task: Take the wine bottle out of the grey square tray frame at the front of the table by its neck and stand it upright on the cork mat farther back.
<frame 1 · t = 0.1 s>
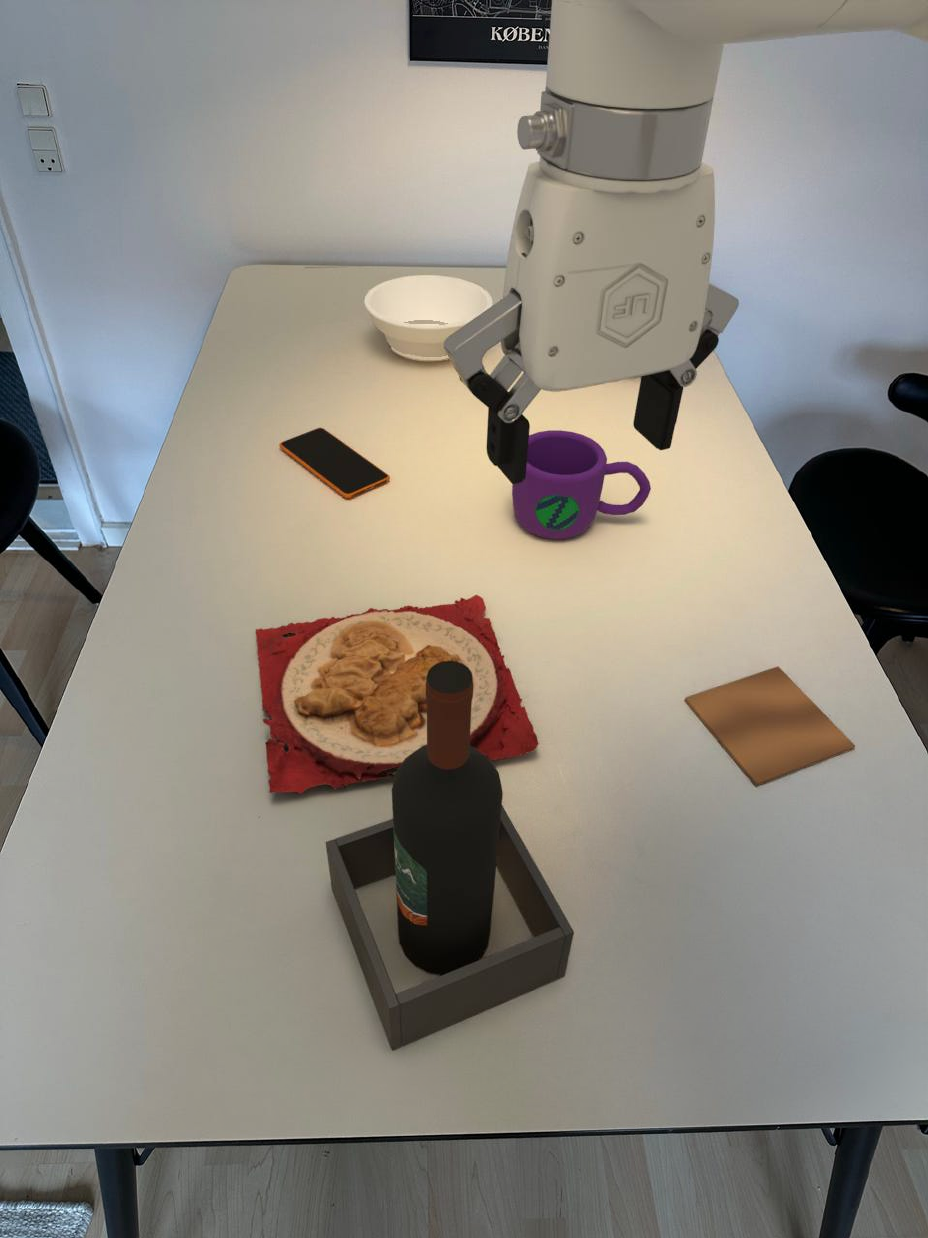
hand: (581, 454, 53), 40 cm above the table, tool pointing down, fingers open, 9 cm apart
wine bottle: (444, 932, 74), resting in grey square tray frame
grey square tray frame: (444, 931, 74), on the table
cork mat: (767, 724, 92), on the table
plate with food: (387, 692, 94), on the table
smartphone: (334, 465, 125), on the table
vase: (618, 365, 150), on the table
mug: (576, 521, 117), on the table
bowl: (428, 347, 153), on the table
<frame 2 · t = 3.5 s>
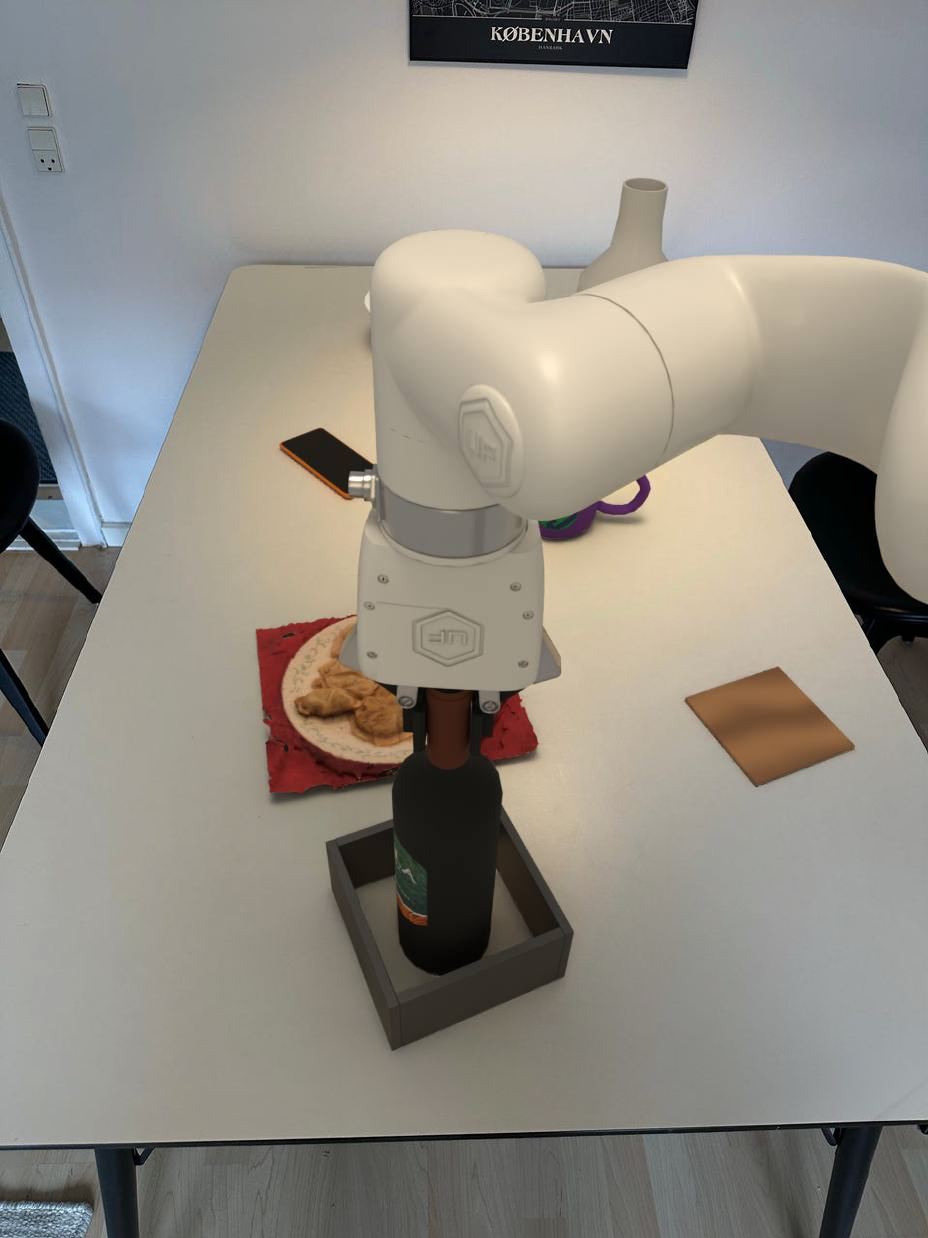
hand: (448, 735, 57), 25 cm above the table, tool pointing down, fingers closed on wine bottle, 2 cm apart
wine bottle: (444, 932, 74), resting in grey square tray frame, touching gripper
everything else where it was.
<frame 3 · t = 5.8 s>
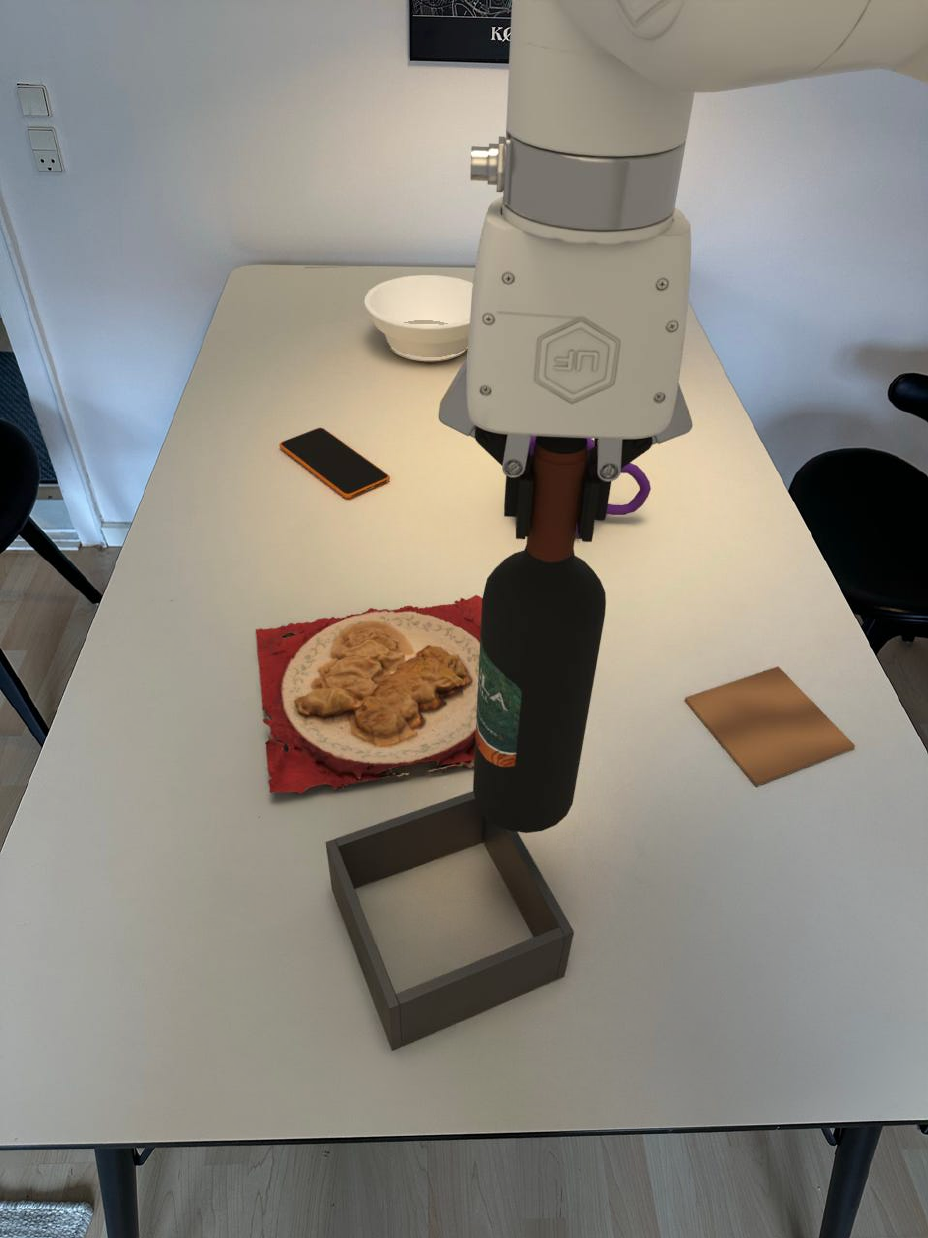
hand: (552, 523, 51), 38 cm above the table, tool pointing down, fingers closed on wine bottle, 2 cm apart
wine bottle: (523, 792, 68), point 14 cm above the table, touching gripper
everything else where it was.
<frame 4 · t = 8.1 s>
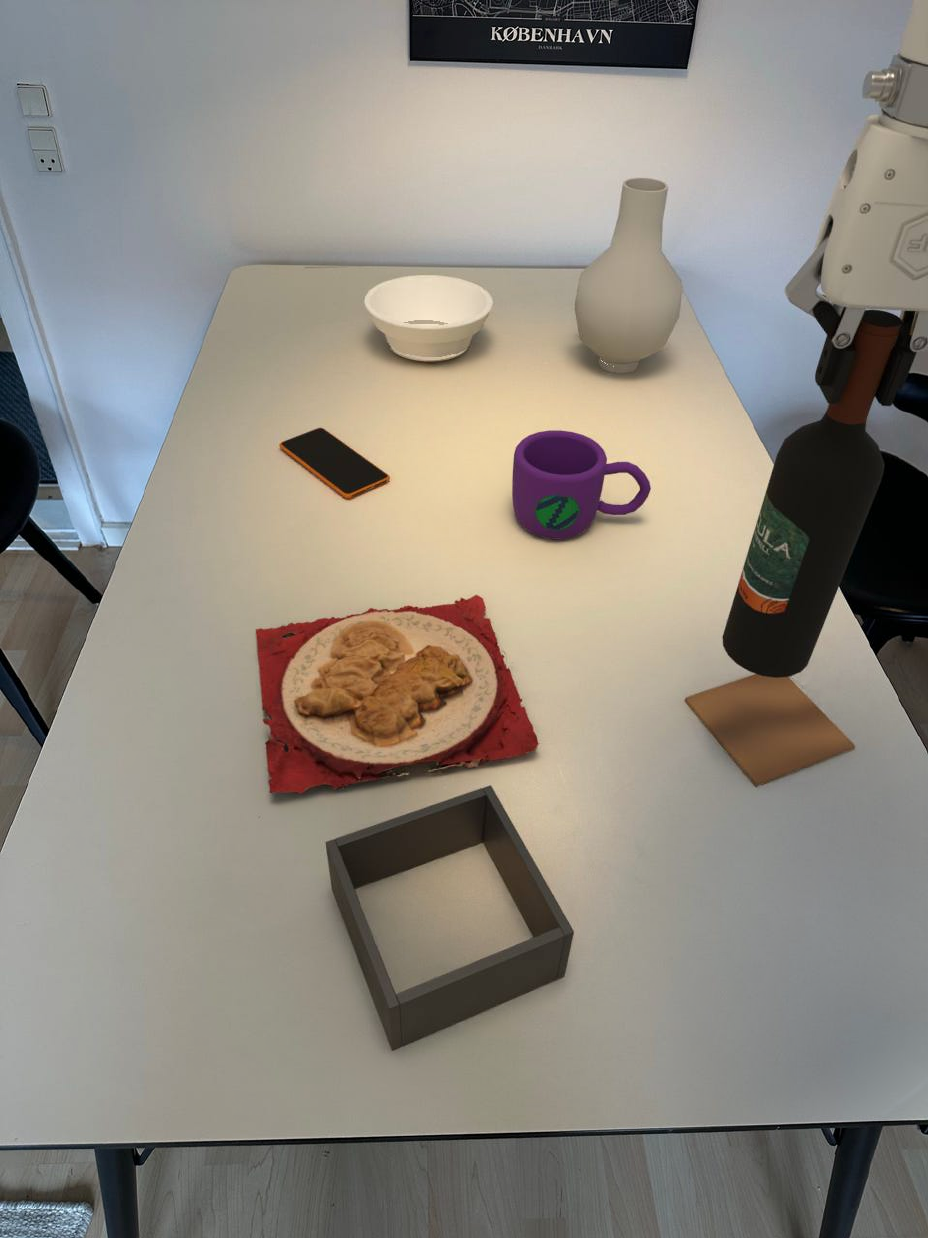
hand: (854, 393, 63), 39 cm above the table, tool pointing down, fingers closed on wine bottle, 2 cm apart
wine bottle: (765, 648, 79), point 14 cm above the table, touching gripper
everything else where it was.
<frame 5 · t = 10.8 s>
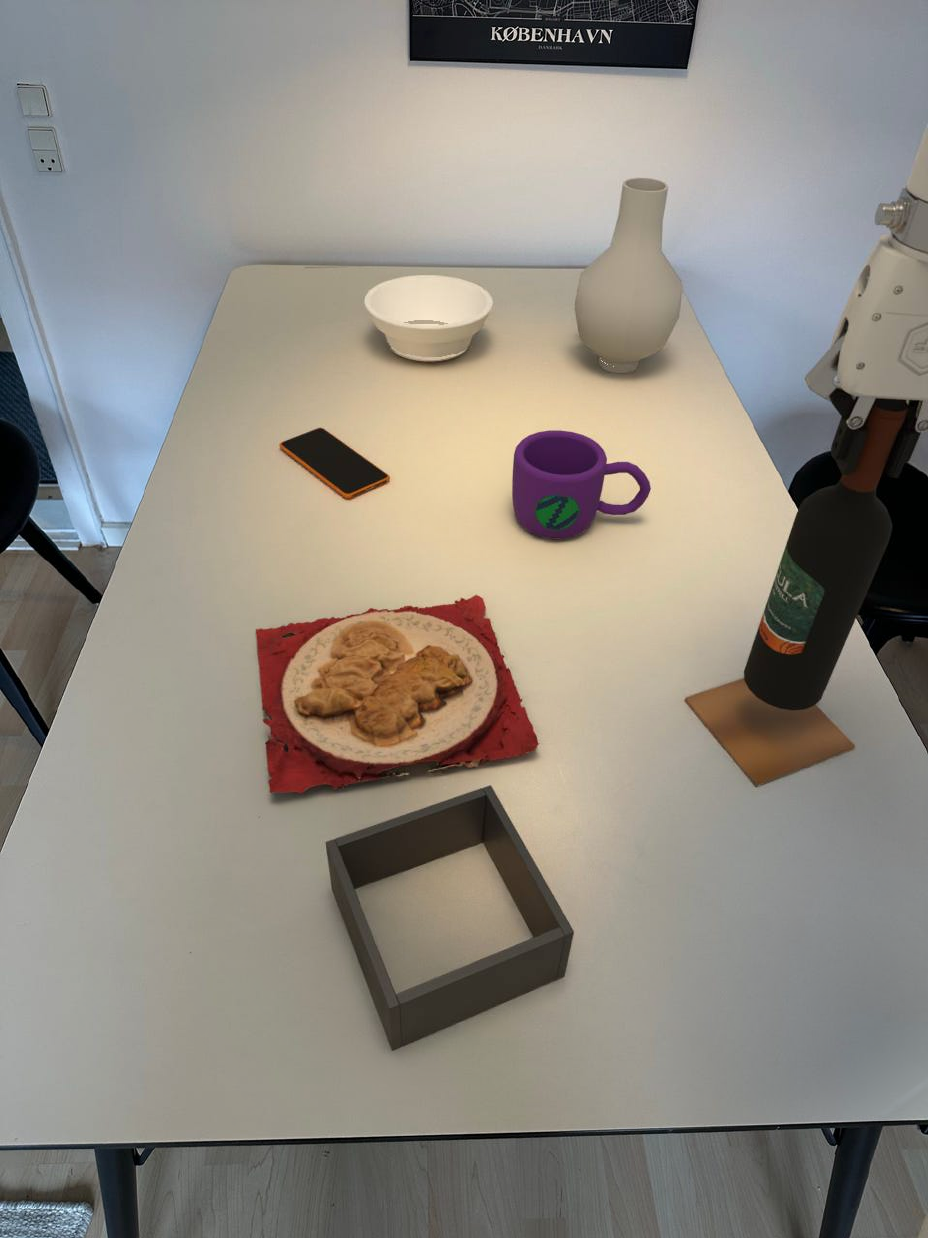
hand: (865, 464, 71), 31 cm above the table, tool pointing down, fingers closed on wine bottle, 2 cm apart
wine bottle: (782, 682, 88), point 6 cm above the table, touching gripper
everything else where it was.
when the fingers open (25 cm above the table, at t = 12.7 s): wine bottle stays where it is, resting on cork mat.
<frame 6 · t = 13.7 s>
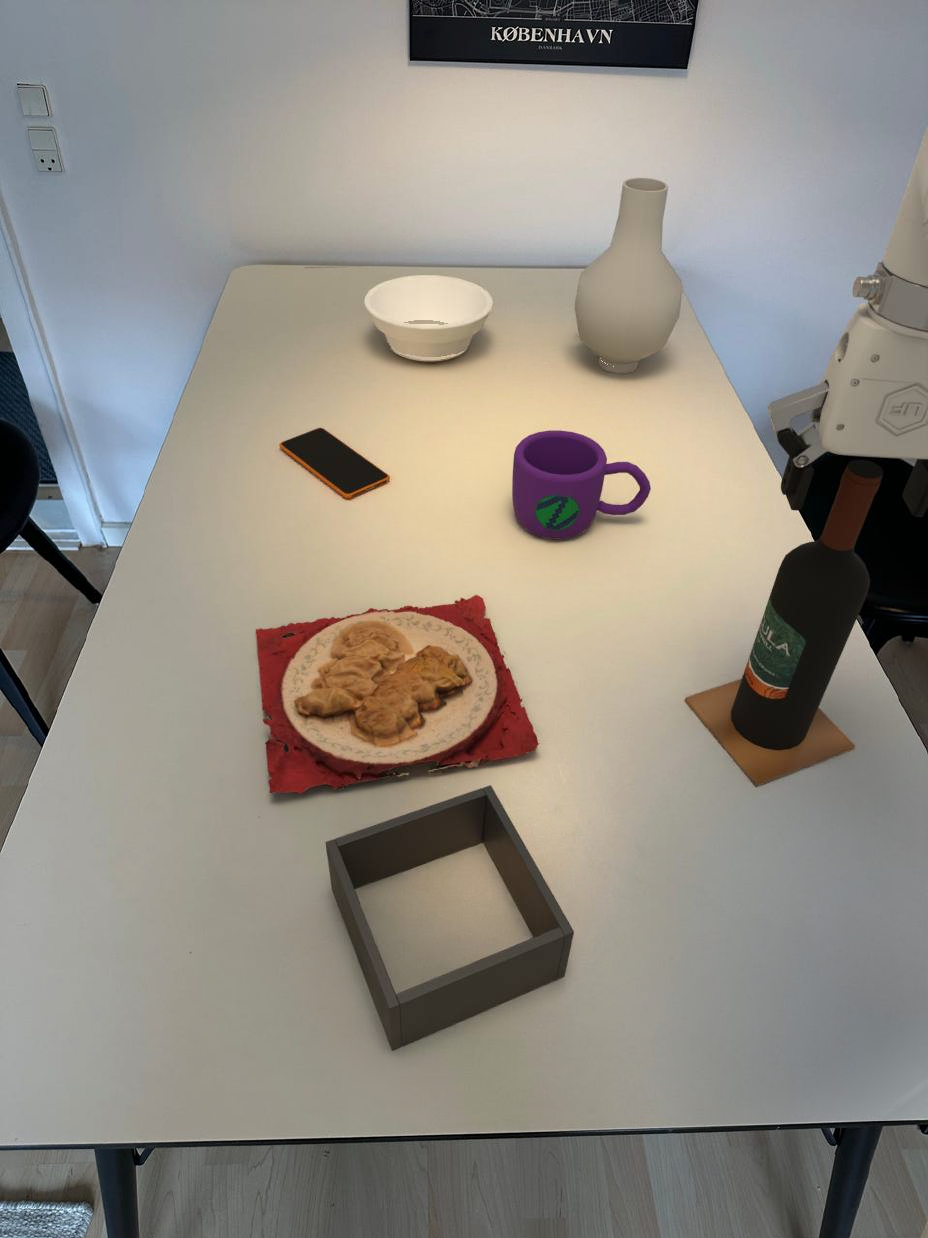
hand: (851, 503, 73), 27 cm above the table, tool pointing down, fingers open, 9 cm apart
wine bottle: (768, 722, 91), resting on cork mat
everything else where it was.
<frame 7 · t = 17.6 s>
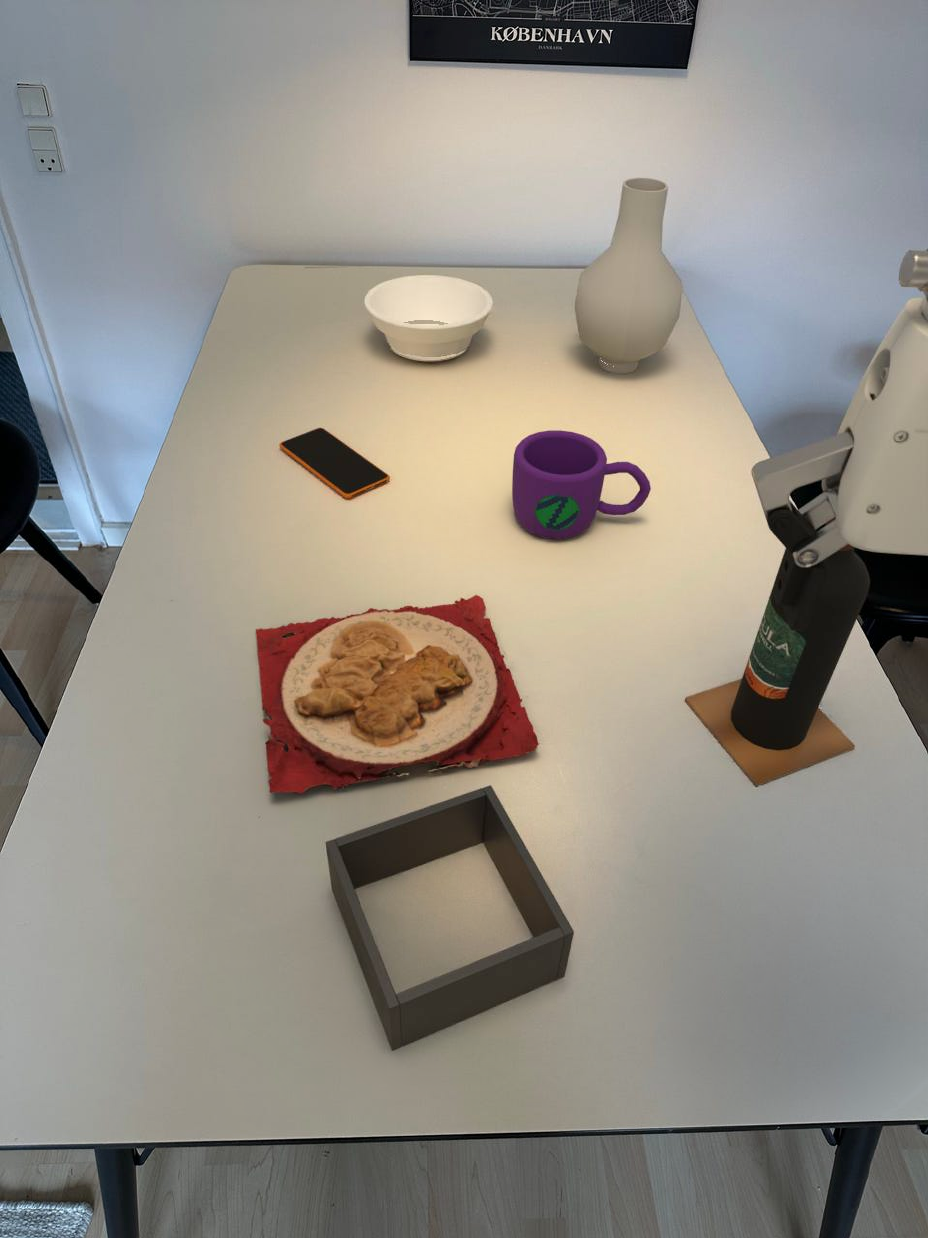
hand: (885, 617, 46), 38 cm above the table, tool pointing down, fingers open, 9 cm apart
nothing on the table moved.
at the end: wine bottle inside the target area on the cork mat (0.0 cm from its centre), point 0.3 cm above the cork mat's base; wine bottle tilted 0° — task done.
